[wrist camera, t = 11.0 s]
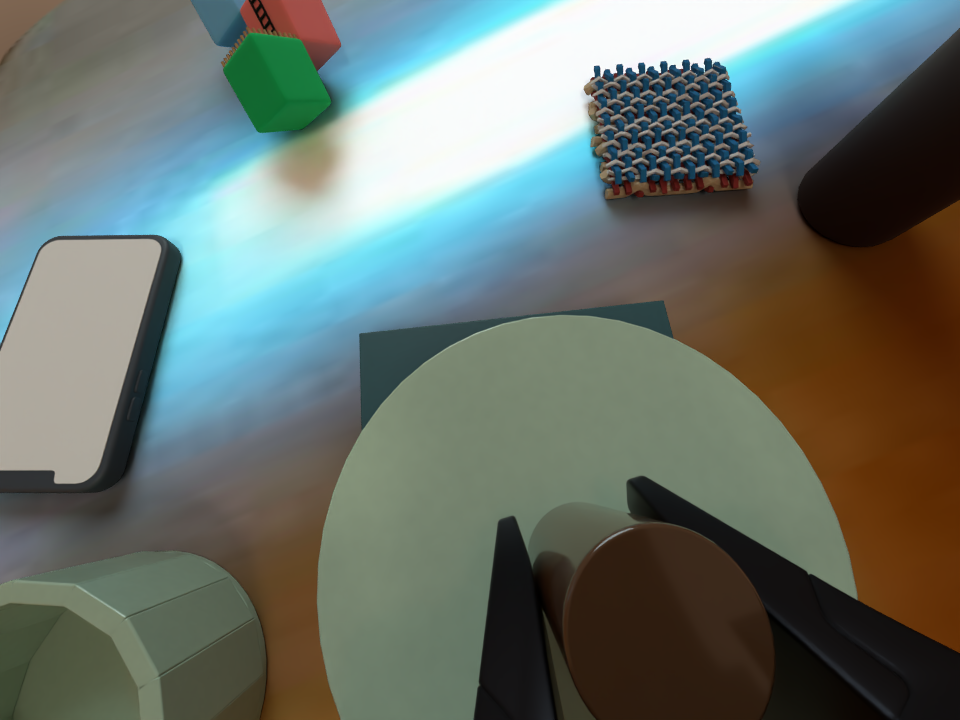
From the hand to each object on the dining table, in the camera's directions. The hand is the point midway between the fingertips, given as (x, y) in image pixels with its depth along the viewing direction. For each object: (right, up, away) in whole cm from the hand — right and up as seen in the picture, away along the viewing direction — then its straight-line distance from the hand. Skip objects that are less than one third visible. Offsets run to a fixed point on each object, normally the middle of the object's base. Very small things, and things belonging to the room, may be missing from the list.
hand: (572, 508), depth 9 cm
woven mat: (+11, +19, +19) cm, 29 cm away
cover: (0, -2, +1) cm, 2 cm away
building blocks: (-18, +25, +21) cm, 37 cm away
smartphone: (-27, +4, +15) cm, 31 cm away
